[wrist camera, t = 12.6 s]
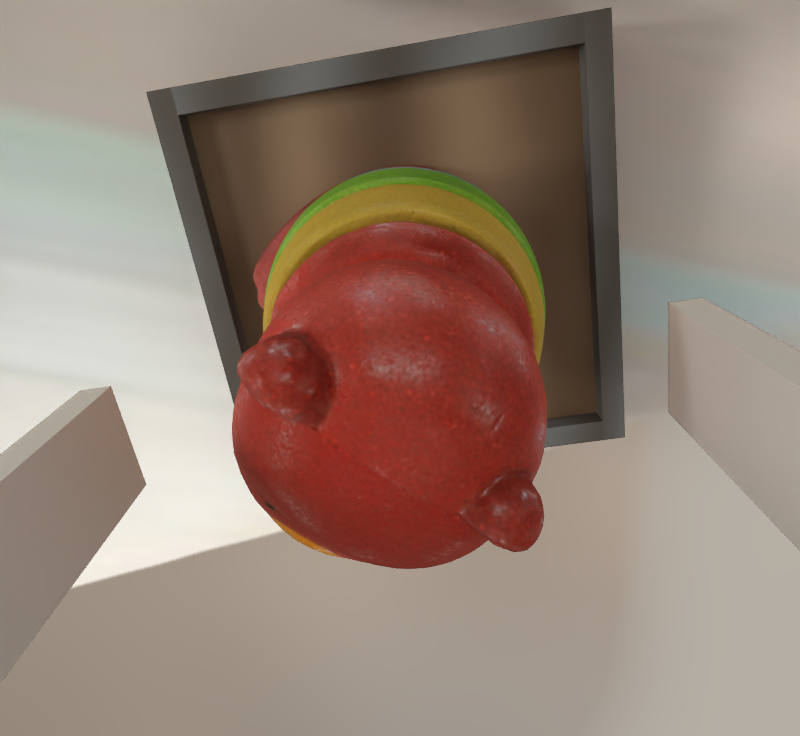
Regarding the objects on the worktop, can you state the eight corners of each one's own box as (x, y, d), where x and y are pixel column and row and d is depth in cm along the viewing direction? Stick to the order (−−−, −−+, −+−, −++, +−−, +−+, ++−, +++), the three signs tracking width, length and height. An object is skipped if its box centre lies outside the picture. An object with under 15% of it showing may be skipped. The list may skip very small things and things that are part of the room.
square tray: (277, 437, 35) (256, 484, 30) (190, 99, 28) (146, 92, 24) (595, 395, 33) (624, 437, 29) (577, 29, 27) (611, 7, 22)
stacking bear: (238, 285, 28) (-28, 514, 11) (378, 97, 25) (307, 19, 8) (419, 424, 30) (428, 787, 13) (567, 267, 27) (816, 480, 10)
